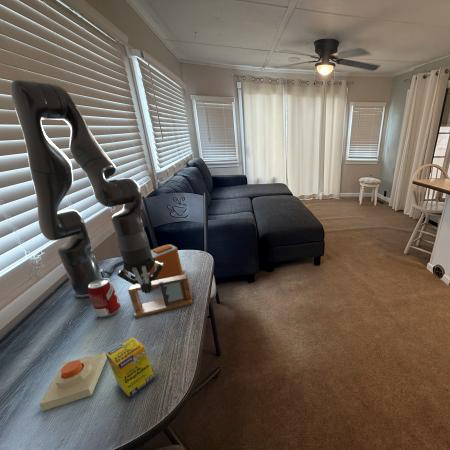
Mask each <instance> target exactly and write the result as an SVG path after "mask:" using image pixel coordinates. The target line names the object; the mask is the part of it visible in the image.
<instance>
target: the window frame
mask: <svg viewBox="0 0 450 450" xmlns="http://www.w3.org/2000/svg"><path fill="white" fill-rule="evenodd" d="M161 281H163V283H164V285H167V284H172V283H177V282H181V281H182V283H183V287H184V292H185V296H186V298H185V299H180V300H176V301H172V302H169V306H165V303H164V299H163V298H160V299H155V300H152V301H147V302H143V303H142V300H141V298H140V293H139V291H142V290H141V286H140V284H131V285H129V287H128V289H127V292H128V294H129V298H130V301H131V304H132V307H133V310H134V313H133V317H134V318H139V317H144V316H146V315H151V314H155V313H160V312H164V311H168V310H171V309H175V308H180V307H184V306H188V305H189V306H190V305H192V304H193V292H192V289H191V284H190V281H189V276H188V273H185V274H182V275H179V276H174V277H169V278H164V279H159V280H154V281H151V283H152V288H153V287H156V288H157V287H160V285H159V282H161ZM153 289H154V288H153Z"/></svg>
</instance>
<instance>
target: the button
mask: <svg viewBox="0 0 450 450" xmlns="http://www.w3.org/2000/svg"><path fill="white" fill-rule="evenodd" d="M68 362H69V363H68ZM68 362H67V363H68V364H66V365H65V366H64V367H63V368H62V369H61V368H60V369H61V373H62V375H63V377H64V378H70V377H73V376H74V375H76V374H78V373H79V372H80V371H81V370H82V368H83V366H82V364H81V362H80V361H79V360H78V359H75V360H72V361H68Z"/></svg>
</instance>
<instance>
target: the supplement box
mask: <svg viewBox="0 0 450 450" xmlns="http://www.w3.org/2000/svg"><path fill="white" fill-rule="evenodd" d="M105 354H106V357H107V359H106V360H107V361H108V364H109V366H110V368H111V372H112V373H113V376H114V378H115V380H116V383H117V385H118V387H119V388H120V389H121V390H122V391H123V392H124V394H125V395H126V396H127V397H128V398H129V399H131V398H132V397H134V396H135V395H136V394H137V393H138V392H139V391H140V390H142V389H143V388H144V387H146V386H147V385H148V384H150V383H151V382H152V381H153V380H155V375H154V371H153V369H152V366H151V362H150V360H149V357H148V354H147V351H146V348H145V346H144V345H143V344H142V343H141V342H140V341H138V339H136V338H134V337H133V336H131V337H130V338H128V339H127V340H126V341H124V342H123V343H121V344H119V345H118V346H116V347H114V348H113V349H111V350H109V351H108V352H105Z"/></svg>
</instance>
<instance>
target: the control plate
mask: <svg viewBox="0 0 450 450" xmlns="http://www.w3.org/2000/svg"><path fill="white" fill-rule="evenodd" d="M77 360H79V361H80V362H81V364H82V366H83V368H82V370H81V371H80V372H79V373H78V374H76V375H74V376H73V377H70V378H64V377H63V375H62V373H61V369H62V368H63V367H64V366H65V365H66V364H68V363H69V362H70V361H68V362H64V363H62V365H61V367H60V368H59V370H58V372H57V373H56V374H55V376H54V378H53V380H52V382H51V384H50V386H49V387H48V388H47V390H46V392H45V394H44V396H43V397H42V399H41V400H40V402H39V407H40V408H41V410H42V411H47V410H50V409H53V408H56V407H59V406H62V405H66V404H69V403H71V402H75V401H79V400H81V399H84V398H87V397H91V396H93V394H94V391H95V388H96V386H97V384H98V381H99V378H100V376H101V374H102V371H103V369H104V366H105V365H106V362H107V360H108V359H107V356H106V352H105V351H104V352H100V353H97V354H93V355H88V356H86V357H83V358H79V359H77Z"/></svg>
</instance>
